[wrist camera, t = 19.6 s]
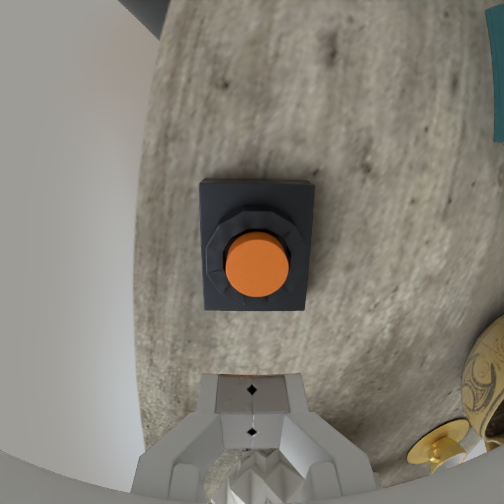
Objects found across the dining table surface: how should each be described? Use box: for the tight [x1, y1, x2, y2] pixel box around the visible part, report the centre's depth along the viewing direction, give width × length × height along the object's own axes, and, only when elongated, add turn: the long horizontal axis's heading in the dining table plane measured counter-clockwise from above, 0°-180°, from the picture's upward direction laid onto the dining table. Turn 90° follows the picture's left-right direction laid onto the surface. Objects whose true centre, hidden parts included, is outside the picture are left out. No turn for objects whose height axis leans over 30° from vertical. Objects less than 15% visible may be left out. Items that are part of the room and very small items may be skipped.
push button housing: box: [199, 179, 315, 311], centre depth 23 cm, size 10×8×4 cm
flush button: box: [226, 231, 289, 297], centre depth 21 cm, size 4×4×2 cm
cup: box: [407, 420, 469, 474], centre depth 35 cm, size 12×12×5 cm
